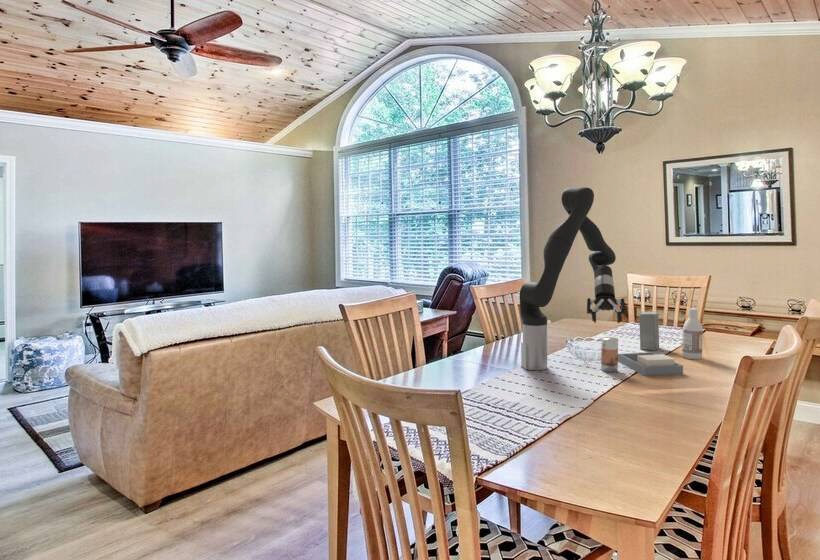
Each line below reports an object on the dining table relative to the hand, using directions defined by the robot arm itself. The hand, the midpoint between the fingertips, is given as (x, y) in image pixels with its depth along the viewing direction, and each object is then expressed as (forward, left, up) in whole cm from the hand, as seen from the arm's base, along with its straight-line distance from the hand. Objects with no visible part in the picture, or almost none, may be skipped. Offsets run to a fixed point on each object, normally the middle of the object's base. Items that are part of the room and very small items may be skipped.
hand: (606, 321), depth 195 cm
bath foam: (+38, +5, -17) cm, 42 cm away
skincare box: (+30, +23, -17) cm, 42 cm away
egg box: (+12, -14, -16) cm, 24 cm away
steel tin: (-4, -11, -17) cm, 21 cm away
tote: (+12, -9, -17) cm, 23 cm away
